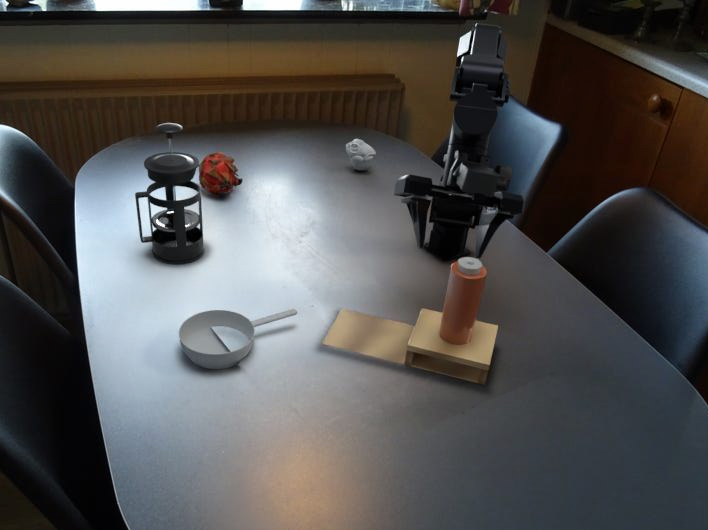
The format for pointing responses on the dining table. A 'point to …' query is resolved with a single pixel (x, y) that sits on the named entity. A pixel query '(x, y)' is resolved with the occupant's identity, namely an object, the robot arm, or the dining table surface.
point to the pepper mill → (462, 300)
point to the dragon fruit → (218, 174)
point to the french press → (173, 205)
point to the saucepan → (207, 344)
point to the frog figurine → (360, 154)
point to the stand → (415, 343)
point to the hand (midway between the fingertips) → (449, 253)
